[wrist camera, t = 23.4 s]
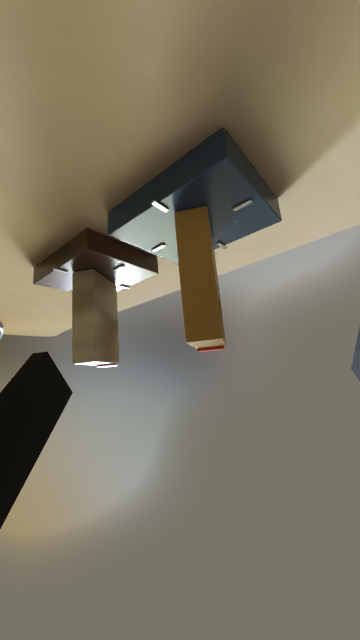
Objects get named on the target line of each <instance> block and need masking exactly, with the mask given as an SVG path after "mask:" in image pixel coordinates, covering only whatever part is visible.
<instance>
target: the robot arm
mask: <svg viewBox="0 0 360 640" xmlns="http://www.w3.org/2000/svg"><path fill="white" fill-rule="evenodd" d="M2 333H3V325H2V324H1V323H0V339H1V337H2ZM351 369H352V371H353V372H354V374H355V375H356V377H357V378H358V380H359V381H360V328H359V332H358V338H357V343H356V347H355V352H354V357H353V362H352V367H351ZM71 394H72V391H71V389H70V388H69V386H68V385H67V383H66V381H65V379H64V378H63V377H62V375H61V373H60V371H59V370H58V368H57V366H56V365H55V363H54V362H53V360H52V359H51V357H50V355H49V354H48V352H41V353H33V354H32V355H31V356H30V357H29V359H28V360H27V361H26V362H25V364H24V365H23V366H22V367H21V368H20V370H19V371H18V372H17V373H16V375H15V376H14V377H13V378H12V379H11V381H10V382H9V383H8V384H7V385H6V387H5V388H4V389H3V390H2V392H1V393H0V529H1V527H2V525H3V523H4V521H5V519H6V517H7V515H8V513H9V512H10V510H11V508H12V505H13V504H14V502H15V500H16V498H17V496H18V495H19V493H20V491H21V489H22V487H23V485H24V483H25V481H26V479H27V478H28V476H29V474H30V472H31V470H32V468H33V466H34V464H35V463H36V461H37V459H38V457H39V455H40V453H41V451H42V449H43V447H44V445H45V444H46V442H47V440H48V438H49V436H50V434H51V432H52V430H53V429H54V427H55V425H56V423H57V421H58V419H59V417H60V415H61V413H62V412H63V410H64V408H65V406H66V404H67V402H68V400H69V398H70V396H71Z"/></svg>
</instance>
